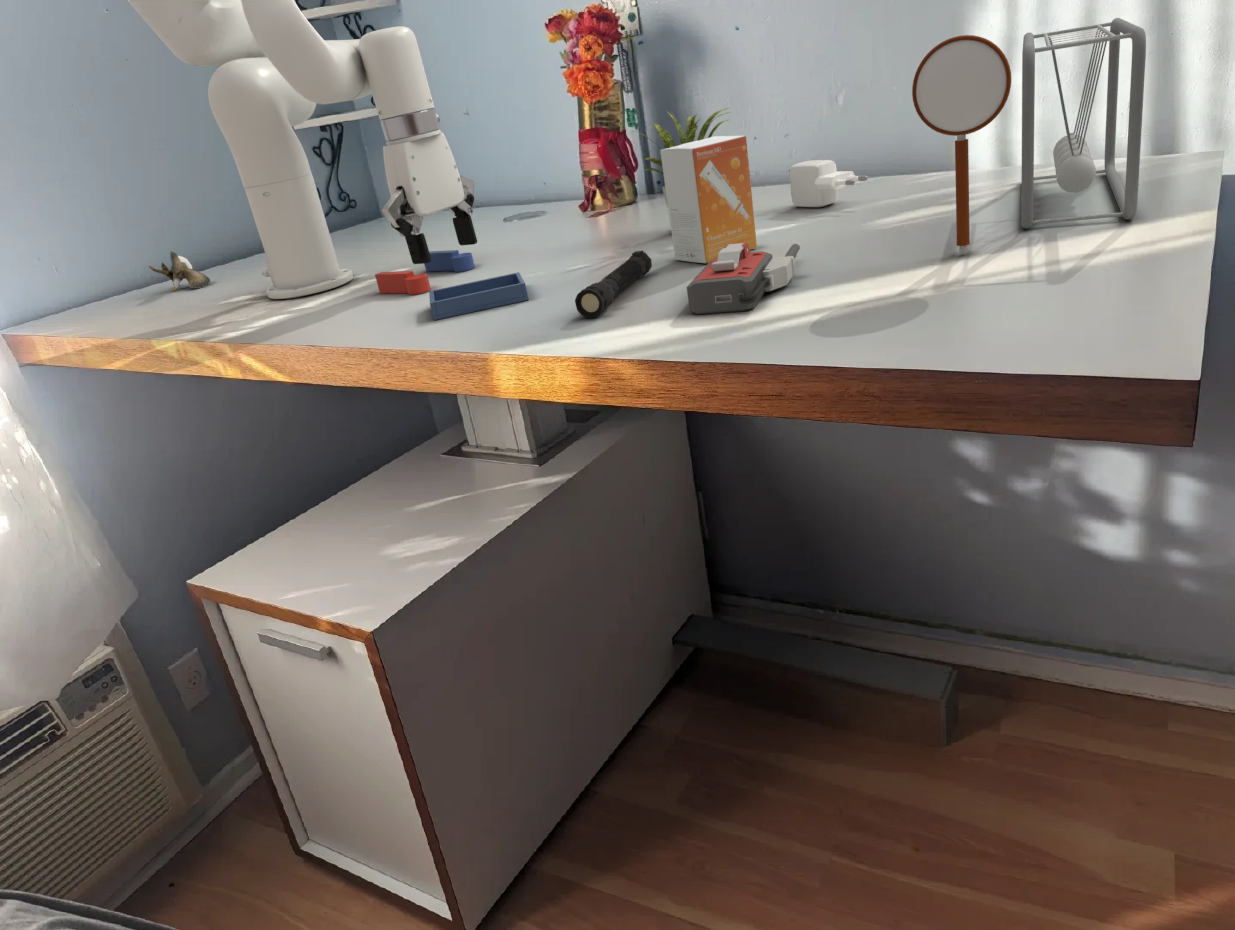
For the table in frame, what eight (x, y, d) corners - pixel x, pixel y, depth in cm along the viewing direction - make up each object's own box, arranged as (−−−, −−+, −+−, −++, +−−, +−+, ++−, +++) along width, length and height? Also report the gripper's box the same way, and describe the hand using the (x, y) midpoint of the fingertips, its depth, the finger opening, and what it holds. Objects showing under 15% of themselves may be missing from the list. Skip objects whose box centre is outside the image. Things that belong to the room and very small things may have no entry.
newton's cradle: (1136, 223, 91) (1147, 27, 84) (1021, 233, 95) (1022, 47, 88) (1113, 171, 116) (1120, 16, 109) (1022, 181, 120) (1023, 32, 113)
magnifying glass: (916, 259, 93) (908, 44, 85) (919, 255, 94) (912, 43, 86) (1009, 253, 89) (1010, 27, 81) (1011, 249, 90) (1012, 26, 82)
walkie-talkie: (775, 312, 84) (806, 258, 101) (771, 265, 82) (803, 218, 99) (683, 319, 87) (728, 266, 104) (676, 273, 86) (723, 226, 102)
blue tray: (434, 320, 105) (429, 303, 104) (433, 307, 111) (429, 291, 110) (528, 299, 106) (525, 282, 105) (522, 288, 112) (519, 271, 111)
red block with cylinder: (375, 295, 124) (370, 276, 123) (391, 288, 126) (386, 270, 125) (419, 294, 119) (414, 275, 118) (435, 288, 121) (430, 268, 120)
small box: (706, 265, 107) (691, 148, 101) (674, 260, 112) (658, 149, 107) (759, 247, 110) (747, 133, 105) (725, 244, 115) (712, 135, 110)
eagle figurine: (145, 289, 157) (167, 279, 151) (150, 249, 158) (173, 237, 152) (189, 301, 163) (213, 292, 157) (194, 262, 164) (218, 252, 158)
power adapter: (874, 202, 124) (871, 156, 122) (850, 210, 122) (847, 164, 119) (811, 200, 133) (808, 158, 130) (788, 208, 130) (784, 165, 128)
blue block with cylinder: (422, 273, 133) (417, 255, 132) (436, 267, 135) (432, 249, 134) (465, 271, 128) (460, 253, 127) (479, 266, 130) (474, 247, 129)
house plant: (771, 213, 129) (758, 89, 123) (727, 237, 119) (711, 103, 113) (682, 219, 137) (666, 102, 131) (634, 242, 127) (614, 117, 120)
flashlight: (577, 319, 94) (572, 290, 93) (631, 276, 108) (626, 251, 107) (605, 317, 93) (599, 288, 92) (655, 274, 107) (651, 248, 105)
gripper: (435, 121, 133) (467, 239, 140) (345, 144, 120) (384, 272, 127) (473, 113, 129) (504, 235, 135) (383, 136, 116) (422, 269, 123)
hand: (446, 253), depth 131 cm, fingers open, 9 cm apart
